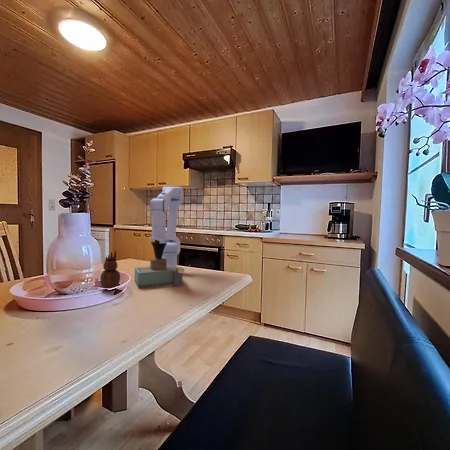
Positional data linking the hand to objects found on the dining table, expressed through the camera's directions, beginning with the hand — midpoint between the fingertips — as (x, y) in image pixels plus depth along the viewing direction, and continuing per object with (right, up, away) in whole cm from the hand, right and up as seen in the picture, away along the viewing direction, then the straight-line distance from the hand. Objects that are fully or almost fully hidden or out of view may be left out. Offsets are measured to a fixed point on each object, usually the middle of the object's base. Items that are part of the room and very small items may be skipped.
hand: (158, 258), depth 111 cm
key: (+10, -5, -6) cm, 13 cm away
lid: (0, -5, 0) cm, 5 cm away
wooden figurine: (-16, -11, -11) cm, 22 cm away
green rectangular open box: (0, -10, -1) cm, 11 cm away
